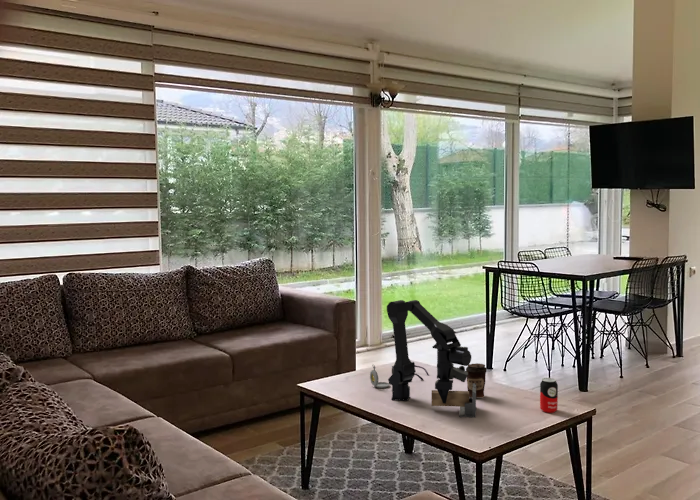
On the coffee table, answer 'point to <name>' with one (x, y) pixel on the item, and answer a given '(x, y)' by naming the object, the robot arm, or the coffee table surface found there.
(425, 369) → the sunglasses
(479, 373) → the coffee cup
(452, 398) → the rail
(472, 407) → the bracket
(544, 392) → the beverage can
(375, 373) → the pocket watch
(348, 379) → the coffee table surface
